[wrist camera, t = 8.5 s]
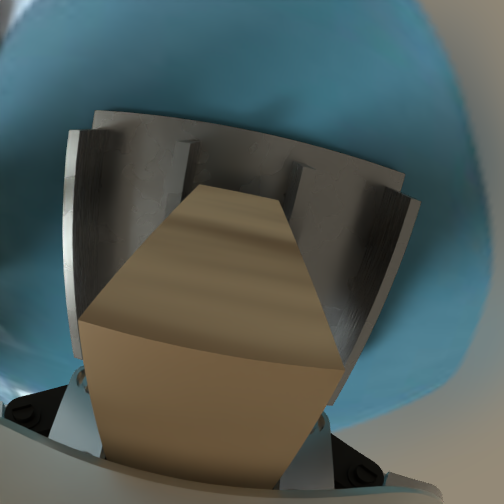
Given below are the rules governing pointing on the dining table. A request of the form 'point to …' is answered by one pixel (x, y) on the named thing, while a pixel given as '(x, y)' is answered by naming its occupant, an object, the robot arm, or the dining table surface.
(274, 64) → the dining table surface
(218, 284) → the oak board
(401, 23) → the dining table surface
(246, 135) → the rack
